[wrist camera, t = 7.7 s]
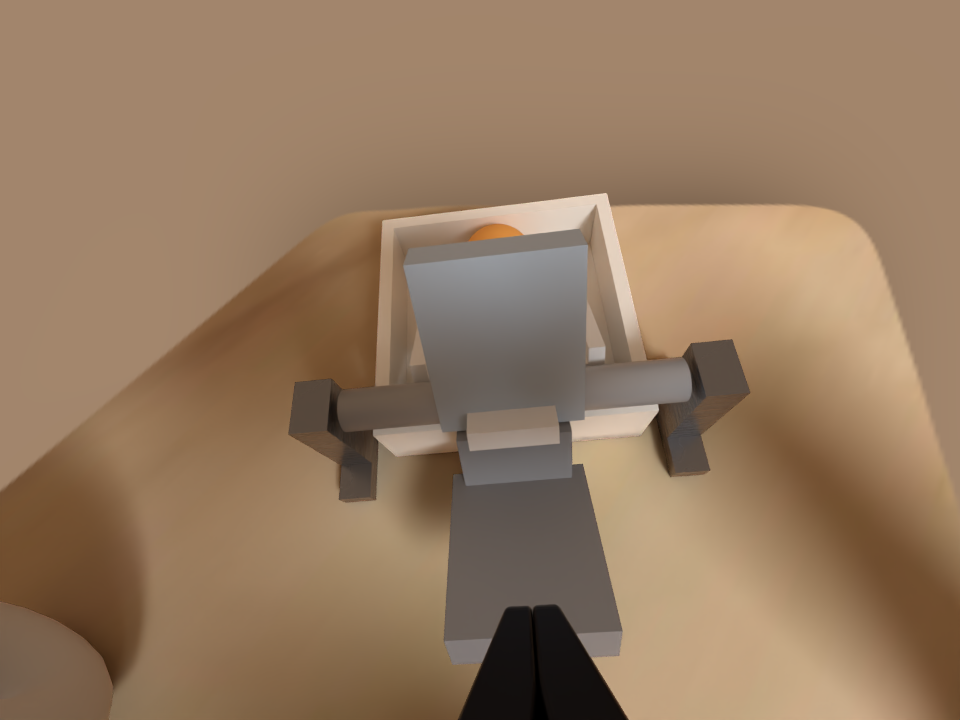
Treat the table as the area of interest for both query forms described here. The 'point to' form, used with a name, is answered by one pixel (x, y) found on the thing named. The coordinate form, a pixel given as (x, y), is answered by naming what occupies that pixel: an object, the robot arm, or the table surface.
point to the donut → (49, 670)
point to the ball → (495, 232)
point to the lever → (514, 426)
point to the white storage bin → (584, 213)
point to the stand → (679, 423)
